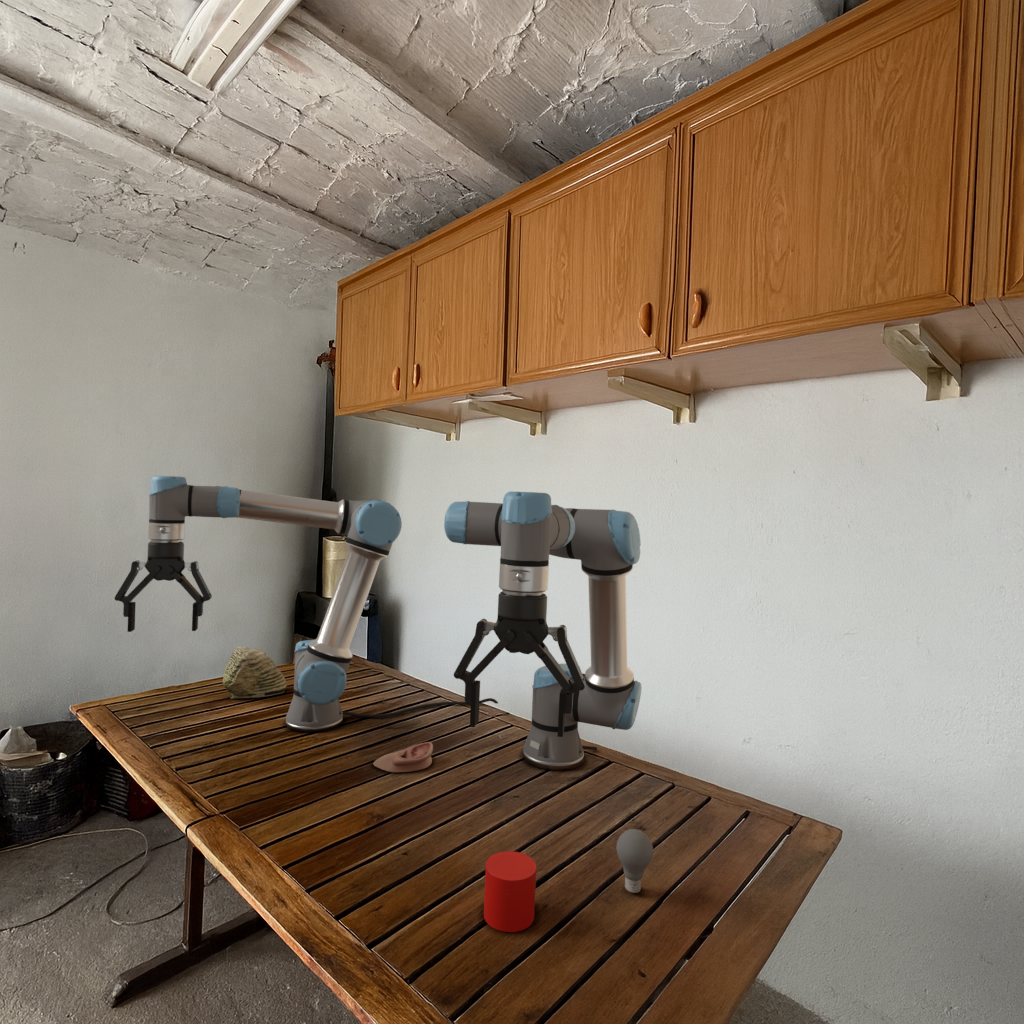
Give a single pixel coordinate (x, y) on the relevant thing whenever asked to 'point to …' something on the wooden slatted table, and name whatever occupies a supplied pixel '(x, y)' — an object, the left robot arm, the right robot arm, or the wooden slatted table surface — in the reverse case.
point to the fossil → (252, 674)
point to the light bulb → (634, 857)
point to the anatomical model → (407, 759)
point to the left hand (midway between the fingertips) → (163, 630)
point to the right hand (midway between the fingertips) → (517, 729)
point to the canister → (510, 891)
